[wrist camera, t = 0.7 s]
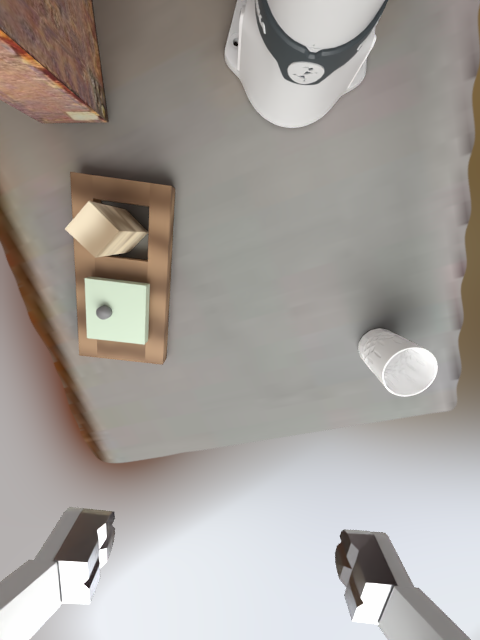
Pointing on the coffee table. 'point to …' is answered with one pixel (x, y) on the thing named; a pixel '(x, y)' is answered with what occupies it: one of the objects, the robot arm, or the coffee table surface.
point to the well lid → (117, 310)
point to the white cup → (398, 362)
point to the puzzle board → (128, 263)
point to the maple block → (106, 229)
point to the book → (51, 60)
